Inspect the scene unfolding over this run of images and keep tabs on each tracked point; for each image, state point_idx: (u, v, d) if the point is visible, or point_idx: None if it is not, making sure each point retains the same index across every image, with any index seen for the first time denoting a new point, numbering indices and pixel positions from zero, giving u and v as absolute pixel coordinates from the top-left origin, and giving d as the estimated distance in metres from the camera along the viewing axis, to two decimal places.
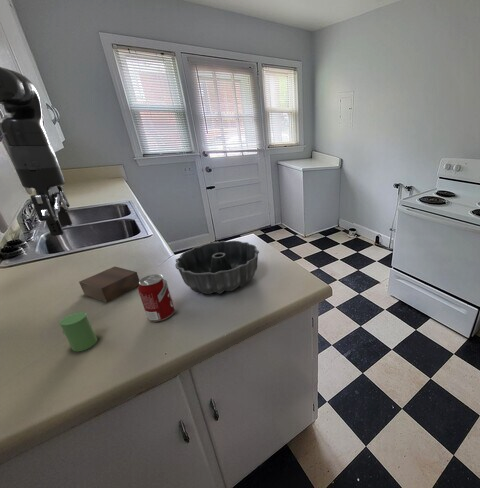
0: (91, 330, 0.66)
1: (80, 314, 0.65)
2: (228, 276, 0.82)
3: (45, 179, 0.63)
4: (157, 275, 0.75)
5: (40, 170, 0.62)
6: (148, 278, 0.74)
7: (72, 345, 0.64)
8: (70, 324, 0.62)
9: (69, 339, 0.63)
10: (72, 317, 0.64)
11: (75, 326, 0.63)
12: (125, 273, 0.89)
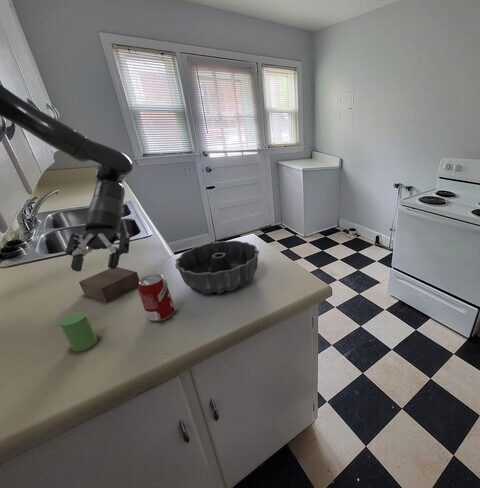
0: (91, 330, 0.66)
1: (80, 314, 0.65)
2: (228, 276, 0.82)
3: (119, 225, 0.78)
4: (157, 275, 0.75)
5: (120, 218, 0.79)
6: (148, 278, 0.74)
7: (72, 345, 0.64)
8: (70, 324, 0.62)
9: (69, 339, 0.63)
10: (72, 317, 0.64)
11: (75, 326, 0.63)
12: (125, 273, 0.89)
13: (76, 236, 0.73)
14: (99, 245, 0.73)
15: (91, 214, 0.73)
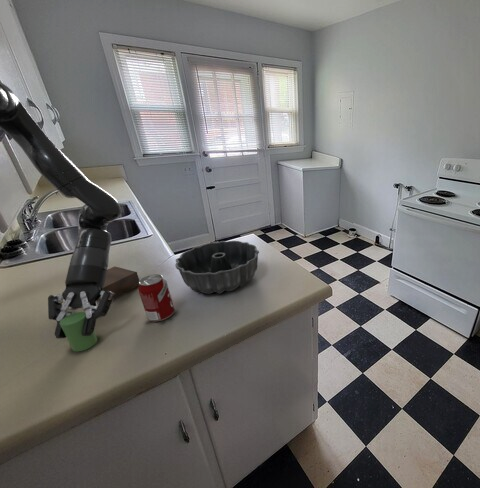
0: None
1: (80, 314, 0.65)
2: (228, 276, 0.82)
3: (104, 278, 0.70)
4: (157, 275, 0.75)
5: (106, 271, 0.71)
6: (148, 278, 0.74)
7: (72, 345, 0.64)
8: (70, 324, 0.62)
9: (69, 339, 0.63)
10: (72, 317, 0.64)
11: (75, 327, 0.63)
12: (125, 273, 0.89)
13: (55, 297, 0.66)
14: (81, 305, 0.65)
15: (72, 270, 0.66)
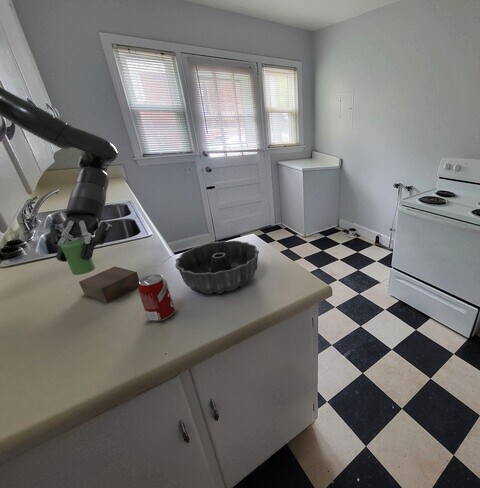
0: None
1: (79, 241, 0.71)
2: (228, 276, 0.82)
3: (102, 213, 0.76)
4: (157, 275, 0.75)
5: (103, 206, 0.77)
6: (148, 278, 0.74)
7: (72, 268, 0.70)
8: (70, 246, 0.68)
9: (69, 262, 0.69)
10: (72, 243, 0.70)
11: (74, 249, 0.68)
12: (125, 273, 0.89)
13: (56, 226, 0.71)
14: (80, 232, 0.71)
15: (72, 201, 0.71)
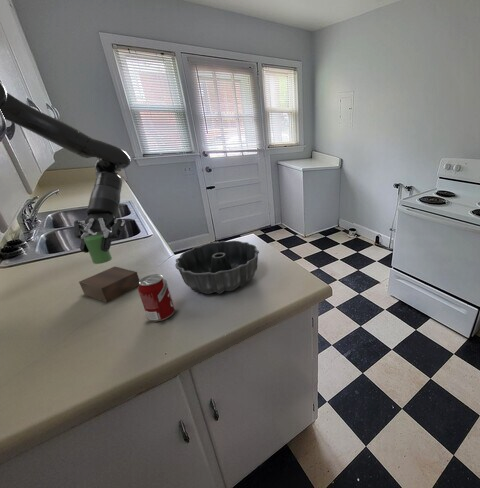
0: None
1: (99, 235, 0.83)
2: (228, 276, 0.82)
3: (117, 211, 0.89)
4: (157, 275, 0.75)
5: (118, 205, 0.89)
6: (148, 278, 0.74)
7: (93, 258, 0.82)
8: (92, 239, 0.80)
9: (91, 253, 0.82)
10: (93, 236, 0.82)
11: (95, 242, 0.81)
12: (125, 273, 0.89)
13: (79, 222, 0.84)
14: (99, 228, 0.84)
15: (92, 201, 0.84)
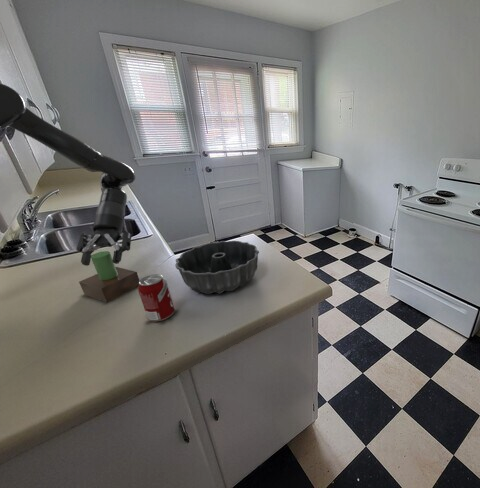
0: (113, 265, 0.87)
1: (105, 252, 0.86)
2: (228, 276, 0.82)
3: (122, 226, 0.91)
4: (157, 275, 0.75)
5: (123, 221, 0.91)
6: (148, 278, 0.74)
7: (99, 275, 0.85)
8: (99, 257, 0.83)
9: (97, 269, 0.84)
10: (100, 254, 0.85)
11: (102, 259, 0.83)
12: (125, 273, 0.89)
13: (85, 236, 0.86)
14: (105, 243, 0.86)
15: (98, 217, 0.86)
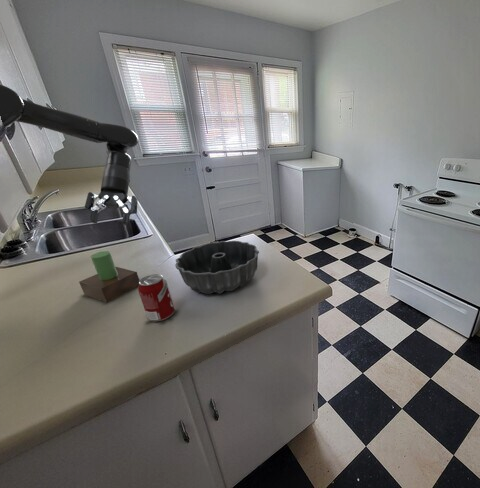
0: (113, 265, 0.87)
1: (105, 252, 0.86)
2: (228, 276, 0.82)
3: None
4: (157, 275, 0.75)
5: (128, 184, 0.98)
6: (148, 278, 0.74)
7: (99, 275, 0.85)
8: (99, 257, 0.83)
9: (97, 269, 0.84)
10: (100, 254, 0.85)
11: (102, 259, 0.83)
12: (125, 273, 0.89)
13: (92, 195, 0.92)
14: (113, 205, 0.93)
15: (107, 179, 0.92)
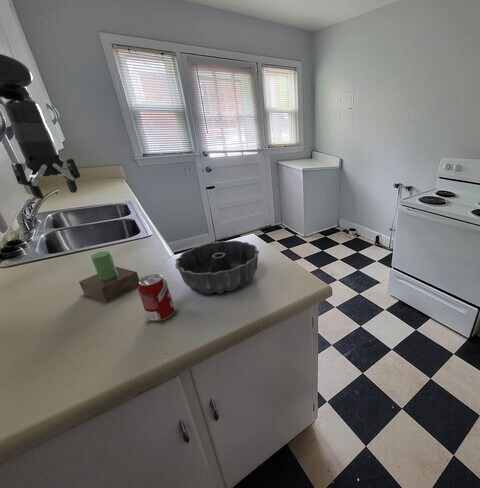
0: (113, 265, 0.87)
1: (105, 252, 0.86)
2: (228, 276, 0.82)
3: None
4: (157, 275, 0.75)
5: None
6: (148, 278, 0.74)
7: (99, 275, 0.85)
8: (99, 257, 0.83)
9: (97, 269, 0.84)
10: (100, 254, 0.85)
11: (102, 259, 0.83)
12: (125, 273, 0.89)
13: None
14: (54, 174, 0.82)
15: (40, 146, 0.76)
